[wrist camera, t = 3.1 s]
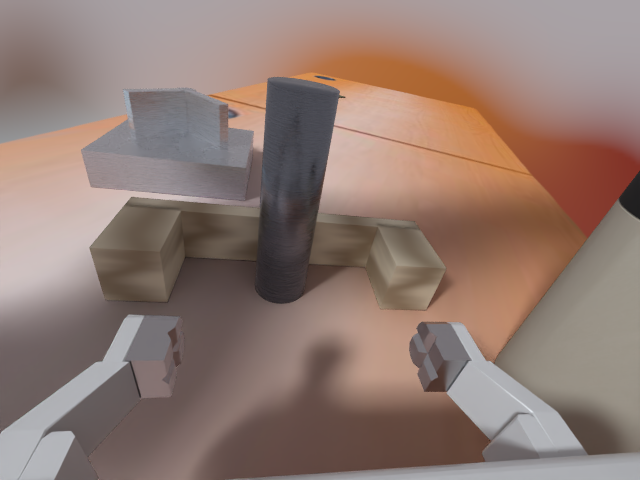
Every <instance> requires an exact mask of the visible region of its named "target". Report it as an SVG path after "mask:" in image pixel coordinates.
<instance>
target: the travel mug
mask: <svg viewBox="0 0 640 480" xmlns="http://www.w3.org/2000/svg"><path fill="white" fill-rule="evenodd" d="M495 365H496V366H497V367H499V368H500V369H501V370H503V371H504V372H505V373H506V374H508V375H509V376H510V377H512V378H513V379H514V380H516V381H517V382H518V383H520V384H521V385H522V386H524V387H525V388H526V389H528V390H529V391H530V392H532V393H533V394H534V395H536V396H537V397H538V398H540V399H541V400H542V401H544V402H545V403H546V404H548V405H549V406H550V407H552V408H553V409H554V410H556V411H557V412H558V413H559V415H560V416H561V417H562V419H563V420H564V422H565V423H566V424H567V426H568V427H569V429H570V430H571V431H572V433H573V434H574V436H575V437H576V438H577V440H578V441H579V443H580V444H581V445H582V447H583V448H584V450H585V451H586V452H587V454H588V455H600V454H615V453H630V452H640V171H639V173H638V174H637V175H636V176H635V178H634V179H633V180H632V182H631V183H630V184H629V185H628V187H627V188H626V189H625V191H624V192H623V193H622V195H621V196H620V197H619V199H618V200H617V201H616V203H615V204H614V205H613V206H612V208H611V209H610V210H609V212H608V213H607V214H606V216H605V217H604V218H603V219H602V221H601V222H600V223H599V225H598V226H597V227H596V228H595V230H594V231H593V232H592V234H591V235H590V236H589V238H588V239H587V240H586V241H585V243H584V244H583V245H582V247H581V248H580V249H579V251H578V252H577V253H576V255H575V256H574V257H573V258H572V260H571V261H570V262H569V264H568V265H567V266H566V268H565V269H564V270H563V271H562V273H561V274H560V275H559V277H558V278H557V279H556V281H555V282H554V283H553V284H552V286H551V287H550V288H549V290H548V291H547V292H546V294H545V295H544V296H543V298H542V299H541V300H540V301H539V303H538V304H537V305H536V307H535V308H534V309H533V311H532V312H531V313H530V314H529V316H528V317H527V318H526V320H525V321H524V322H523V324H522V325H521V326H520V327H519V329H518V330H517V331H516V333H515V334H514V335H513V337H512V338H511V339H510V340H509V342H508V343H507V344H506V346H505V347H504V348H503V350H502V351H501V352H500V354H499V355H498V356H497V358H496V360H495Z"/></svg>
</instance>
